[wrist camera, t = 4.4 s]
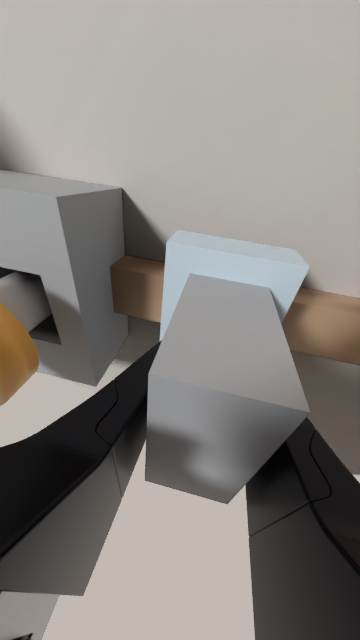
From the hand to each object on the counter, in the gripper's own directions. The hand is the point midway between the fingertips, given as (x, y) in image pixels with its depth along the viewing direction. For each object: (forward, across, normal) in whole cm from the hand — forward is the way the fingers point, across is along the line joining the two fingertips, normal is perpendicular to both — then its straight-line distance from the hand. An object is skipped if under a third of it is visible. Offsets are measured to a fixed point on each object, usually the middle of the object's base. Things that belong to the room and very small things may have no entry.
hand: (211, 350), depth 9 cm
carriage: (+3, 0, 0) cm, 3 cm away
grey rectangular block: (+5, +10, 0) cm, 11 cm away
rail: (+5, -2, 0) cm, 5 cm away
